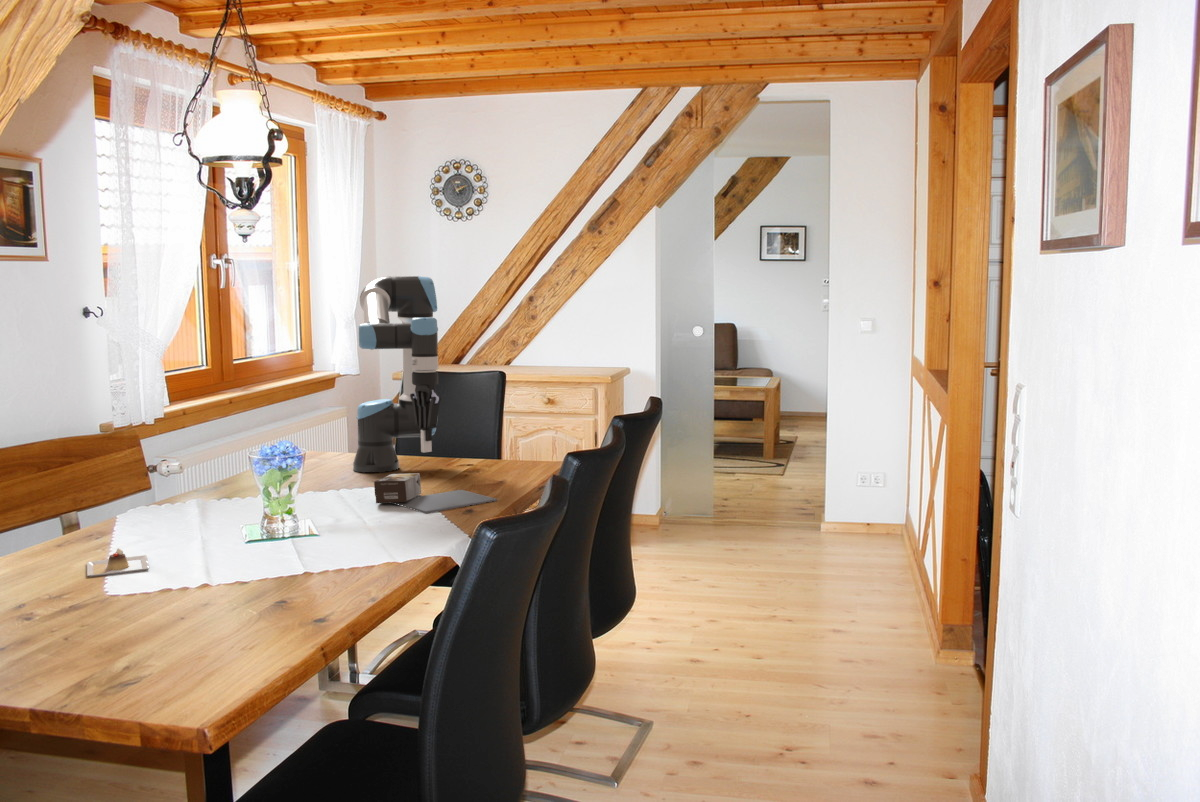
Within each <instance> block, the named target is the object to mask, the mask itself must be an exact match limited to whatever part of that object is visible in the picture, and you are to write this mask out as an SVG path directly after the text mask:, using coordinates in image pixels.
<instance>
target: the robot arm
mask: <svg viewBox="0 0 1200 802" xmlns="http://www.w3.org/2000/svg"><path fill="white" fill-rule="evenodd" d="M359 304H360V305H359V306H360V308H361V309H362V310H363V320H364V323H361V324H359V325H358V346H359V348H360V349H362V350H371V351H372V350H401V349H402V369H403V370H402V372H403V373H402V377H403V379H402V381H403V383H402V385H403V392H402V394H401V395H400V396H399V398H398V403H396V402H395V403H394V401H393V399H391V398H382V399H375V400H370V401H365V402H363V403H360V404H359V405H358V406H357V411H356V412H357V417H356V419H357V448H356V449H357V450H356V453H355V456H354V459H353V464H352V470H353V471H354V472H356V473H357V472H358V473H365V472H379V473H386V472H385V471H389V472H393V471H392V470H394V471H396V469H397V470H398V468H400V461H399V459H398V455H397V453H396V449H395V447H394V439H395V438H420V452H421V453H430V452H433V450H432V449H433V448H432V447H433V444H432V443H433V442H432V441H433V436H434V435H435V433H436V430H437V426H438V420H439V418H438V417H439V409H440V403H441V401H442V397H441V395H440V396H439V395H437V391H436V386H437V385H438V384H439V373H438V370H439V354H438V350H439V349H438V347H439V346H438V344H439V343H438V342H439V341H438V337H439V336H438V331H439V327H438V320H437V318H435V317H434V313H436V312H437V311H438V300H437V293H436V286H435V283H434V281H433V279H432V278H431V277H428V276H419V275H417V276H410V275H409V276H389V275H388V276H381V277H378V278H376V279H373V280H372V281H370V282H368V284H366V286H365V287H363V289H362V291H361V293H360V296H359ZM389 312H390V313H393V312H395V313H396V312H397V318H398V320H400V321H401V322H402V323H397V322H396V323H394V322H393V323H390V315H389V314H390V313H389Z"/></svg>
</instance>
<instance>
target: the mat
mask: <svg viewBox="0 0 1200 802" xmlns="http://www.w3.org/2000/svg"><path fill="white" fill-rule="evenodd" d="M492 501H494V502H498V498H495V497H491V496H487V495H483V494H480V493H475V492H472V491H468V490H464V489H458V490H457V489H455V490H452V491H444V492H439V493H431V494H426V495H425V494H424V495H420V496H419V495H418V496H416V497H414V498H413V499H411V500H409V501H407V502H401V503H396V504H399V505H398V506H400V505H403V506H406V507H409V508H408V509H410V508H412V509H411V510H413V509H415V510H414V511H416V510H418V511H417V512H419V511H420V512H419V513H423V514H430V513H431V512H432V513H437V512H442V511H447V510H449V511H450V510H453V509H454V508H455V509H459V507H460V508H464V507H465V506H466V507H471V506H470V505H472V506H475V505H476V504H477V505H482V504H481V503H483V504H487V503H486V502H489V503H493V502H492ZM396 504H395V505H396ZM477 505H476V506H477ZM403 506H402V507H403ZM406 507H405V508H406ZM466 507H465V508H466ZM432 513H431V514H432Z"/></svg>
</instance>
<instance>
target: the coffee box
mask: <svg viewBox="0 0 1200 802" xmlns="http://www.w3.org/2000/svg"><path fill="white" fill-rule="evenodd" d="M421 483H422V482H421V474H420V473H418V472H417V473H391V474H388V475H387V476H384V477H382V478H379V479H377V480H376V481H374V482H373V485H374V496H375V504H393V503H401V502H407V501H409V500H411V499H413V498H414V497H418V496H419V495H420V496H421V494H422V487H421V486H422V485H421Z"/></svg>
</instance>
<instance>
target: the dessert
mask: <svg viewBox="0 0 1200 802" xmlns="http://www.w3.org/2000/svg"><path fill="white" fill-rule="evenodd" d="M139 560H140V564H141V568H136V569H129V568H130V564H129V562H130V561H139ZM103 564H107V565H106V570H107V571H112V572H103V573H94V566H95V565H103ZM125 569H127V570H125ZM128 569H129V570H128ZM149 569H150V565H149V561H148V557H147V555H146V554H145V555H144V554H143V555H135V556H126V554H125V553H124V551H123V549H120V548H117V549H116V552H114V553H113V554H110V555H109V557H108V558H107V559H100V560H99V559H98V560H92V561H86V576H87V577H91V578H95V577H100V576H108V575H109V576H110V575H117V574H127V573H134V572H135V573H137V572H143V571H147V570H149Z"/></svg>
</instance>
